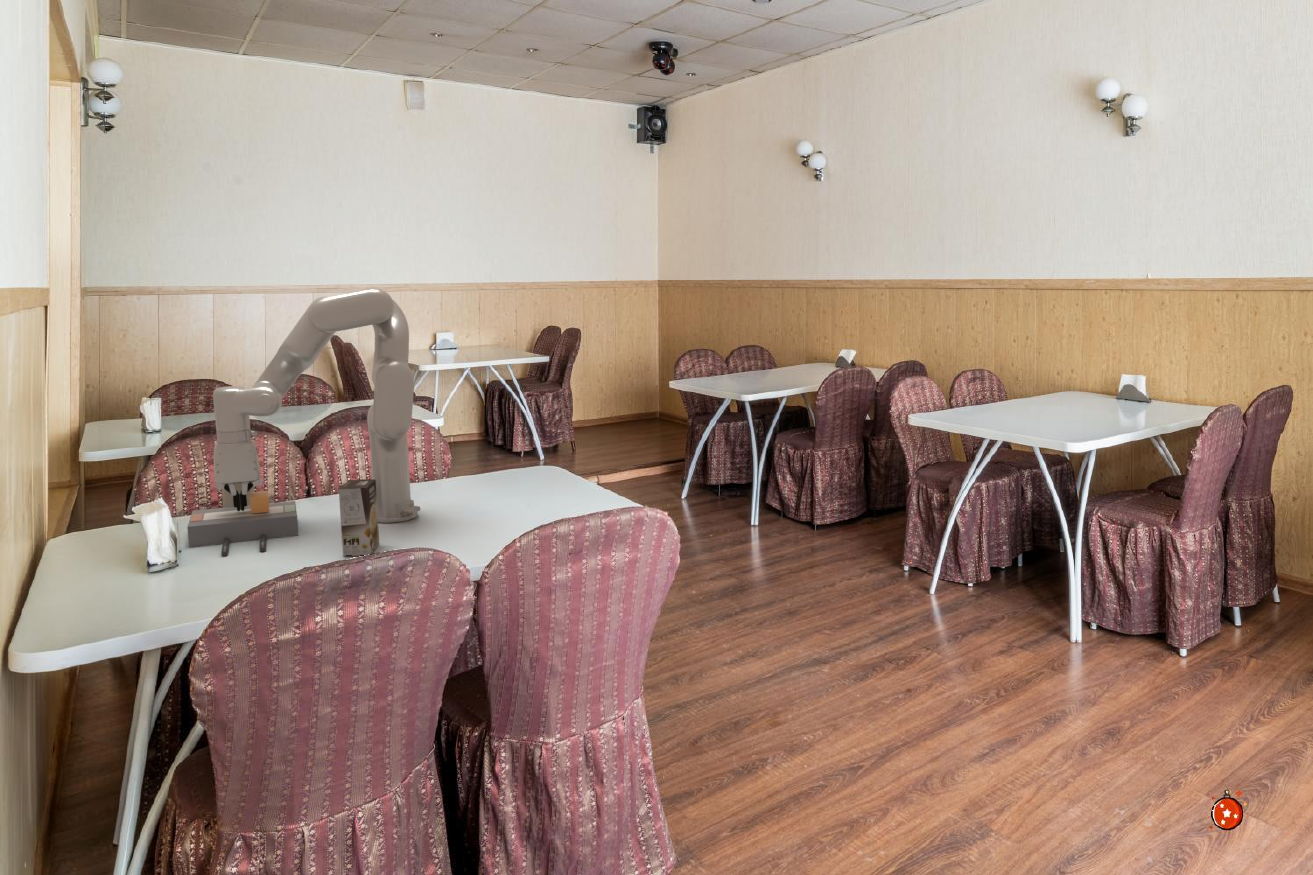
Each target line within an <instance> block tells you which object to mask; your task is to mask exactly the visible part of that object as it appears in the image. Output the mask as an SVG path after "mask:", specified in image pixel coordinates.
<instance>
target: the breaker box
mask: <svg viewBox="0 0 1313 875" xmlns="http://www.w3.org/2000/svg"><path fill="white" fill-rule="evenodd" d="M297 512H298V511H297V504H296V500H293V501H292V500H291V501H281V502H269V512H262V513H252V514H251V505H248V506H245V507H244V511H242V510H241V509H240V511H237V507H227V508H223V507H218V508H206V509H197V510H192V512H191V515H190V517H189V520H188V523H187V526H186V528H187V529H186V530H187V539H188V546H189V548H195V546H196V547H203V545H205V546H211V545H212V546H214V545H221V544H222V546H221V552H220V554H221V555H222V557H223V556H224V557H226V556H227V555H228V554H229V547H230V543H240V542H241V543H242V542H250V541H257V540H258V541H259V551H260V552H265V551H266V549H267V540H268V539H278V538H284V537H285V538H286V537H295V536H299V525H298V523H299V522H298V513H297ZM213 544H214V545H213Z"/></svg>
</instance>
